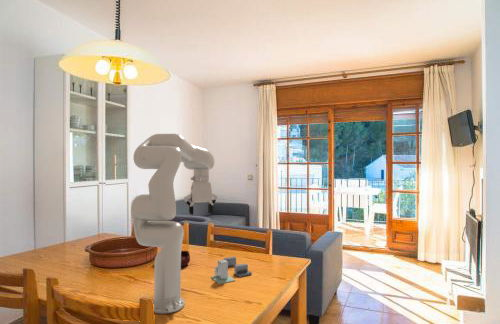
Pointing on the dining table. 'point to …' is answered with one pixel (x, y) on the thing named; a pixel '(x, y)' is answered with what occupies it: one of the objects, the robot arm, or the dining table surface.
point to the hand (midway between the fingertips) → (200, 213)
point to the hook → (222, 270)
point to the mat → (222, 280)
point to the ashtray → (185, 258)
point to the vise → (238, 267)
